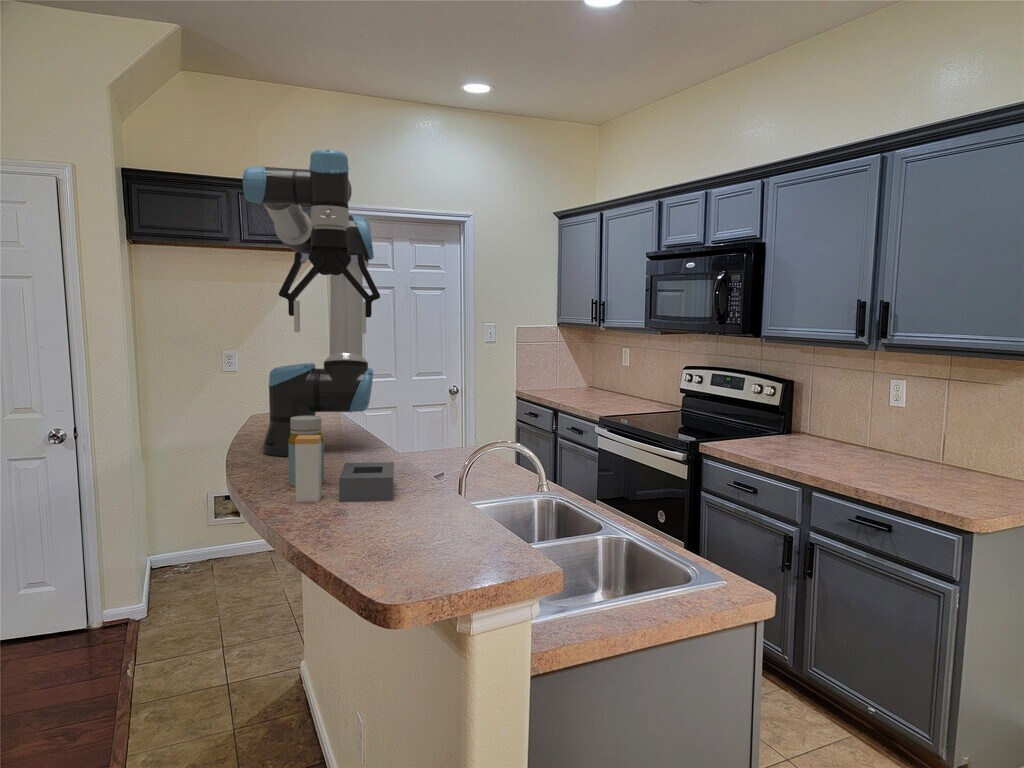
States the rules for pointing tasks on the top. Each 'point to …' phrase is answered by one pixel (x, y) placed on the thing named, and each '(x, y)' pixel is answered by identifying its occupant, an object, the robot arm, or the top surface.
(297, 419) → the bottle
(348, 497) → the gray socket block
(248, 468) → the top surface
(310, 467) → the plug
